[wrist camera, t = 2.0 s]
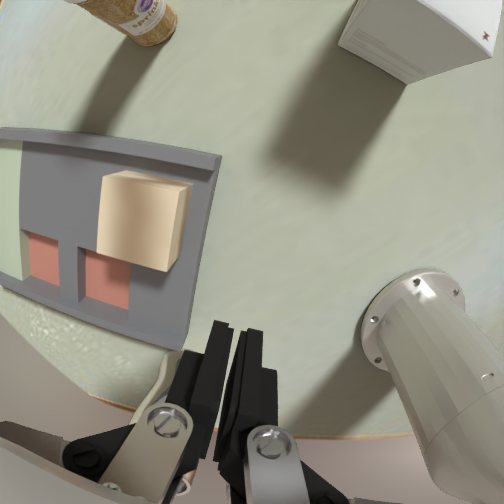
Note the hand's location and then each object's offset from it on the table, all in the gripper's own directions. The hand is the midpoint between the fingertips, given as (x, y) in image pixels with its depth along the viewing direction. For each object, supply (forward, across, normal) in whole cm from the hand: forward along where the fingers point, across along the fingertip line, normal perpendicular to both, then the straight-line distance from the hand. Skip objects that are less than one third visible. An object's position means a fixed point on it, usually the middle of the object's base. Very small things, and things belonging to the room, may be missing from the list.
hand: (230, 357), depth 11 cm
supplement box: (+17, -7, -20) cm, 28 cm away
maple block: (+15, +8, 0) cm, 17 cm away
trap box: (+17, +17, +4) cm, 24 cm away
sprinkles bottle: (+17, +13, -16) cm, 27 cm away
